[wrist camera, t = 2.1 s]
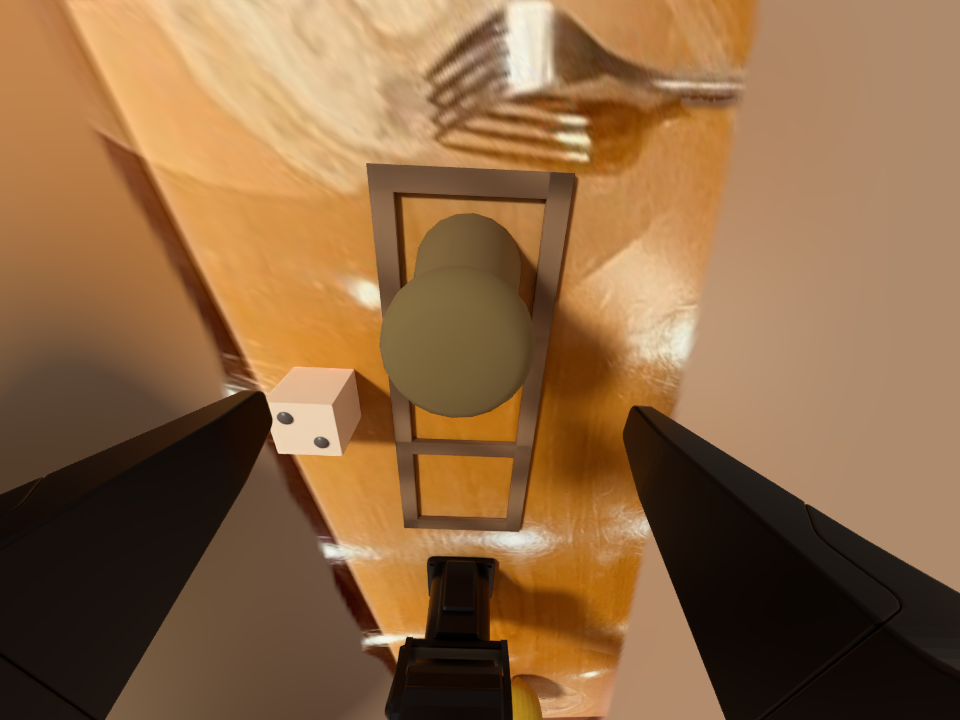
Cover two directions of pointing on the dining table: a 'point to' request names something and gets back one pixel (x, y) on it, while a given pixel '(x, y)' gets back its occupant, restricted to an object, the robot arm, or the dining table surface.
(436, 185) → the three-pane window frame
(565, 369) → the dining table surface
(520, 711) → the lemon
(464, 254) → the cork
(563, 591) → the dining table surface
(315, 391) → the die
